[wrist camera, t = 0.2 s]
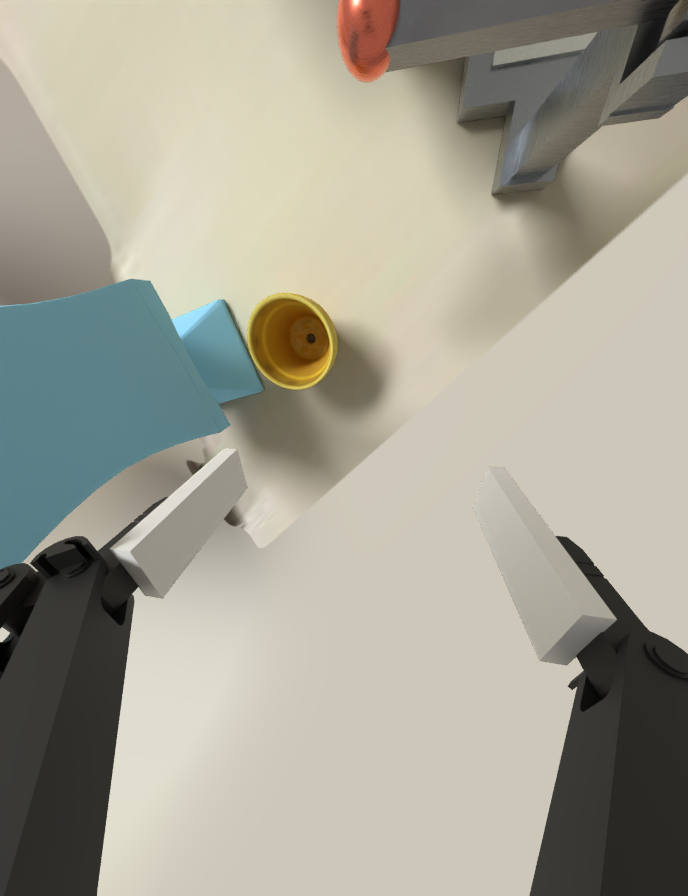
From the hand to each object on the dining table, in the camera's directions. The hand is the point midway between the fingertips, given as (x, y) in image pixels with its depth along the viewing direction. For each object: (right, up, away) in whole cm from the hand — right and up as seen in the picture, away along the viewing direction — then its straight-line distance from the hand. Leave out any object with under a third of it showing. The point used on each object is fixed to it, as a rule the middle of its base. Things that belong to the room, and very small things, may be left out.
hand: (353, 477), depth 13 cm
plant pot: (-5, +18, +23) cm, 30 cm away
